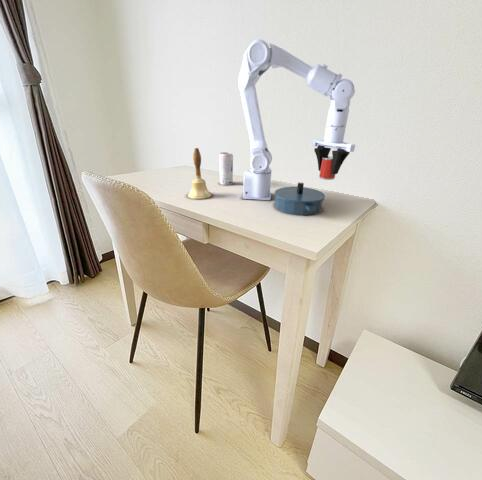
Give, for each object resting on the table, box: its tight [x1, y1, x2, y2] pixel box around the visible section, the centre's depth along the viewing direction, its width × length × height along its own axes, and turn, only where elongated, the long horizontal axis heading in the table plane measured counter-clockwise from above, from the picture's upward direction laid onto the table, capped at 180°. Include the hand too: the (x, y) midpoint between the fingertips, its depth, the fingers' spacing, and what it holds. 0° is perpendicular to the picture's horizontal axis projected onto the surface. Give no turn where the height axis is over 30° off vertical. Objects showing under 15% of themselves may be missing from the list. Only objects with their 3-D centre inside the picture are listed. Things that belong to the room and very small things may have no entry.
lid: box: [274, 182, 326, 203], centre depth 80 cm, size 15×15×4 cm
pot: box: [274, 195, 324, 216], centre depth 81 cm, size 14×20×4 cm
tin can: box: [318, 155, 336, 181], centre depth 83 cm, size 5×5×6 cm
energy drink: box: [218, 151, 234, 186], centre depth 104 cm, size 5×5×12 cm
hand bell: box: [187, 147, 212, 200], centre depth 88 cm, size 8×8×16 cm
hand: (327, 172), depth 83 cm, fingers closed on tin can, 5 cm apart
